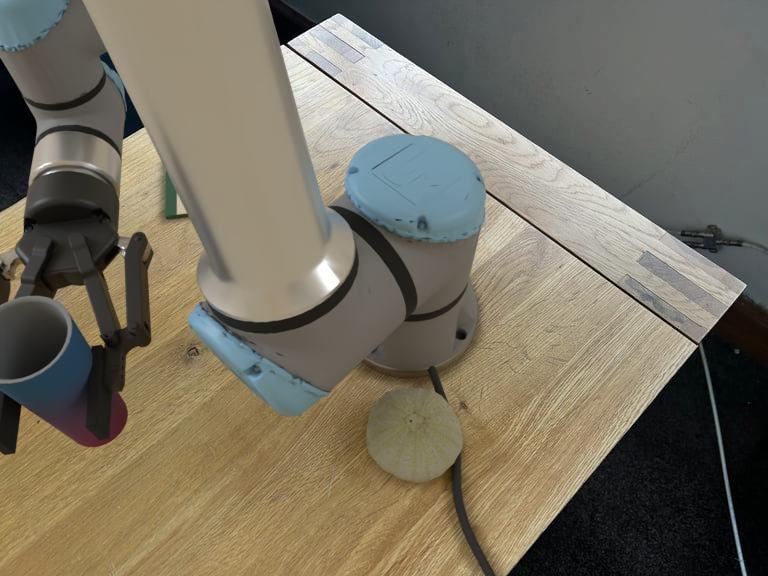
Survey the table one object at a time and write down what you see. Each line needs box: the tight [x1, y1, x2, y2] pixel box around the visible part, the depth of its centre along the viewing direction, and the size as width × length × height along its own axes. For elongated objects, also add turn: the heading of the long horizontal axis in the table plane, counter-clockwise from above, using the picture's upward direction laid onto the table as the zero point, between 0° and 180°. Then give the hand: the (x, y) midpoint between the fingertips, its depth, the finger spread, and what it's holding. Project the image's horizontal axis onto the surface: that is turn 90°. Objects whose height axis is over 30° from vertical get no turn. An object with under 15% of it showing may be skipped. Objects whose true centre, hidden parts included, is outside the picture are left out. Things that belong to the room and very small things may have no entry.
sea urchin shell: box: [365, 387, 464, 484], centre depth 63 cm, size 9×8×8 cm
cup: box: [0, 296, 129, 448], centre depth 51 cm, size 7×7×15 cm
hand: (49, 439), depth 47 cm, fingers closed on cup, 6 cm apart
